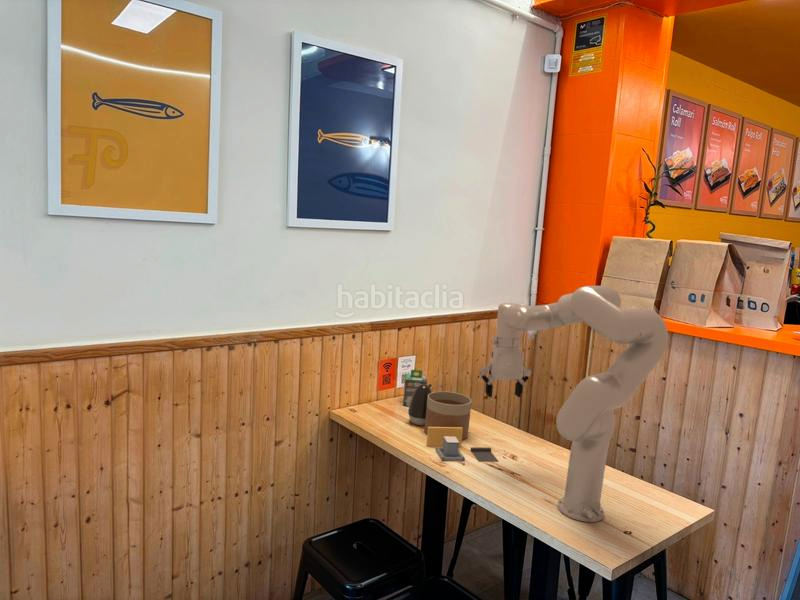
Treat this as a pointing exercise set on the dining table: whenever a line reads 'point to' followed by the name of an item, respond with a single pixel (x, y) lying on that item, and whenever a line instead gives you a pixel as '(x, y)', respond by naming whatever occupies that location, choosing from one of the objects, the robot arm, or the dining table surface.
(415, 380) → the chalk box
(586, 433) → the robot arm
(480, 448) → the dark grey lipped plate
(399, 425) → the dining table surface
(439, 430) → the port
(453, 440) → the plug
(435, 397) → the planter
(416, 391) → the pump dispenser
